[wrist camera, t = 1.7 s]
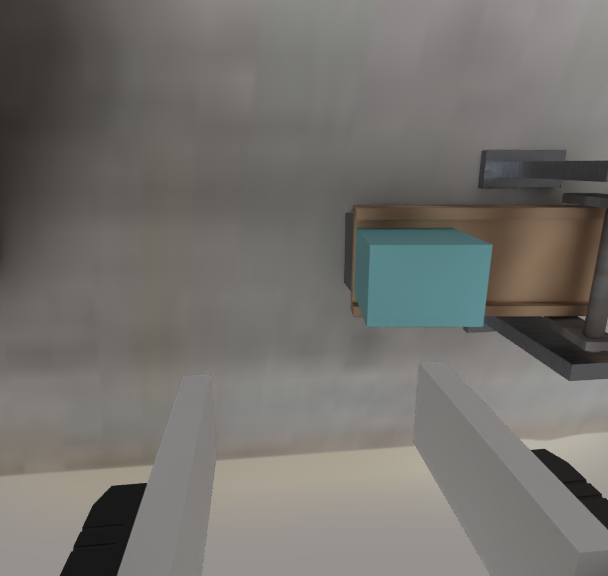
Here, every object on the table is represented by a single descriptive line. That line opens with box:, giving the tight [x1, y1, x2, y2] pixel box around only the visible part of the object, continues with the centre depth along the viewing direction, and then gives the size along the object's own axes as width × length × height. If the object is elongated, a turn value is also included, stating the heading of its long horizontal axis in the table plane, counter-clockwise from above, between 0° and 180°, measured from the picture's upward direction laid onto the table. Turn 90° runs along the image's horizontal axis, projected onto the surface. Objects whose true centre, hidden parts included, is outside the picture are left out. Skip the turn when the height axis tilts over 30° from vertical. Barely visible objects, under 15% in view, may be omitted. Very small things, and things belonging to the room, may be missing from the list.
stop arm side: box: [344, 213, 353, 290], centre depth 35 cm, size 2×6×4 cm, turn 0°
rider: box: [354, 228, 493, 327], centre depth 29 cm, size 7×5×7 cm
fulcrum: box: [463, 150, 608, 381], centre depth 33 cm, size 7×16×12 cm, turn 0°
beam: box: [351, 193, 608, 352], centre depth 32 cm, size 32×11×11 cm, turn 90°
